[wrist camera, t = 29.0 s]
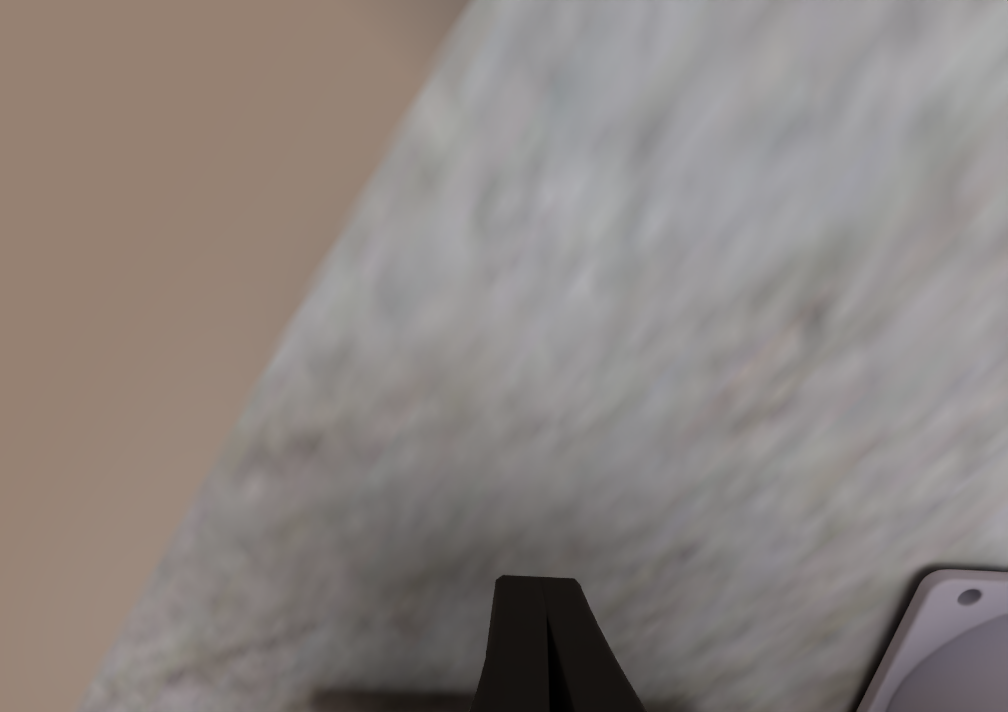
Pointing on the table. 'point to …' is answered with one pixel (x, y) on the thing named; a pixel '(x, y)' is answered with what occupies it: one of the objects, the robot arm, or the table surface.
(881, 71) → the table surface
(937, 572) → the robot arm
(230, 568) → the table surface
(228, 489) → the table surface
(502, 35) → the table surface
